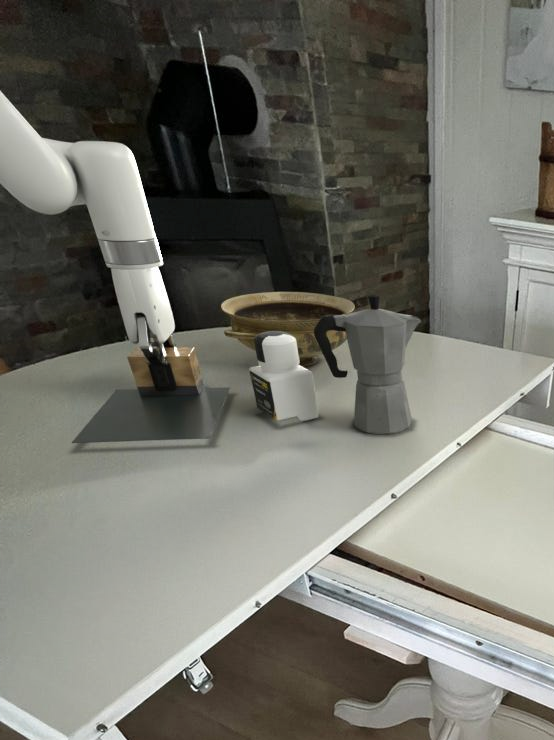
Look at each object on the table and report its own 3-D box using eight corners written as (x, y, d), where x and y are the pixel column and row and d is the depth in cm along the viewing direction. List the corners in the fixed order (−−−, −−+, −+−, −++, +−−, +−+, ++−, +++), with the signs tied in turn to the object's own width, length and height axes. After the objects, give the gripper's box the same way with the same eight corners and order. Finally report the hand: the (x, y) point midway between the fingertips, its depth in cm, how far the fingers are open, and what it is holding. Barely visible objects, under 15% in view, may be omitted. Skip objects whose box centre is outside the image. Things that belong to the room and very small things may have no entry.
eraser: (140, 396, 95) (126, 356, 91) (147, 386, 98) (135, 347, 94) (199, 395, 96) (188, 356, 92) (204, 385, 100) (194, 347, 96)
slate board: (74, 451, 81) (71, 442, 80) (118, 397, 97) (116, 389, 97) (211, 446, 84) (209, 438, 83) (232, 394, 100) (230, 387, 99)
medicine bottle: (257, 414, 94) (240, 331, 86) (298, 405, 98) (285, 325, 90) (277, 428, 90) (261, 343, 82) (319, 418, 94) (307, 336, 86)
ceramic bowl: (281, 393, 101) (269, 330, 95) (193, 366, 111) (178, 306, 104) (393, 356, 121) (391, 301, 114) (311, 335, 130) (304, 283, 124)
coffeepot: (415, 409, 98) (411, 285, 86) (431, 430, 91) (429, 299, 80) (322, 418, 94) (304, 289, 82) (332, 441, 87) (314, 304, 75)
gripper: (120, 244, 90) (158, 368, 102) (84, 263, 78) (132, 402, 90) (172, 245, 91) (203, 368, 103) (145, 263, 79) (184, 401, 91)
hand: (170, 383), depth 96 cm, fingers closed on eraser, 5 cm apart
